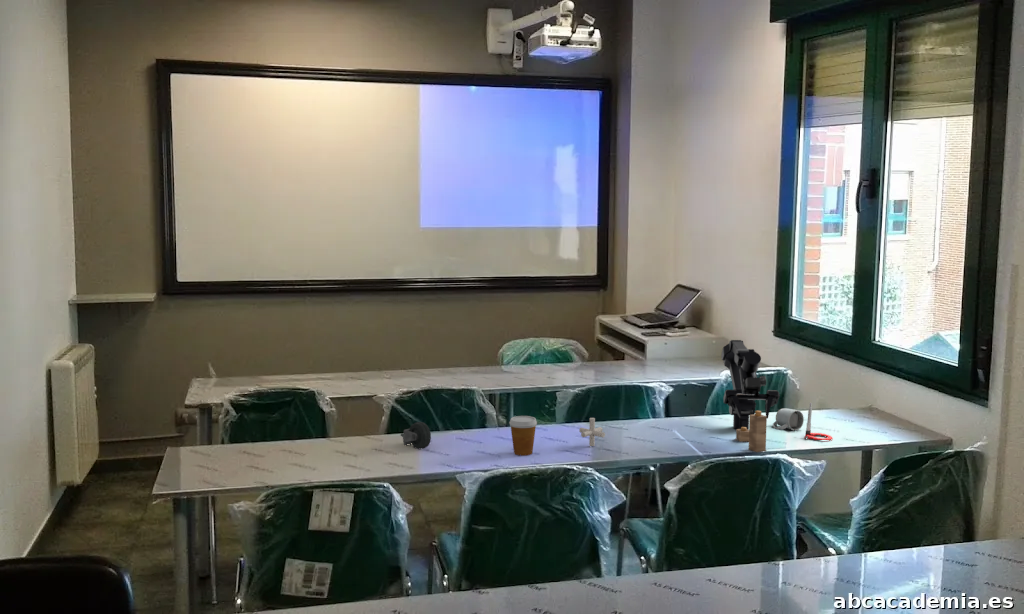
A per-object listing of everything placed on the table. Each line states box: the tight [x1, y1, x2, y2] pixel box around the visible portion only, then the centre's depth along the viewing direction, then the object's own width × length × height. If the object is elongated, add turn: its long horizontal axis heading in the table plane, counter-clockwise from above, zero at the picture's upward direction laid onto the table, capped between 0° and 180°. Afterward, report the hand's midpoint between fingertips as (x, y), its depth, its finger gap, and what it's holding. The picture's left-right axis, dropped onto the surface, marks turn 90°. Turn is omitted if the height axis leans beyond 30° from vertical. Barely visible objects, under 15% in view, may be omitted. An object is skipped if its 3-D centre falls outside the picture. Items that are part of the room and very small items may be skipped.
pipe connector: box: [579, 417, 606, 447], centre depth 310 cm, size 10×10×10 cm
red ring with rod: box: [804, 402, 833, 441], centre depth 320 cm, size 8×13×9 cm
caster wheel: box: [400, 421, 432, 449], centre depth 310 cm, size 6×10×15 cm
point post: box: [748, 410, 768, 453], centre depth 302 cm, size 4×4×14 cm
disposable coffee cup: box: [508, 415, 538, 456], centre depth 301 cm, size 10×10×12 cm
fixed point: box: [735, 427, 749, 443], centre depth 315 cm, size 4×4×4 cm
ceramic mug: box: [772, 408, 805, 431], centre depth 334 cm, size 11×8×8 cm
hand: (754, 417), depth 309 cm, fingers open, 9 cm apart
